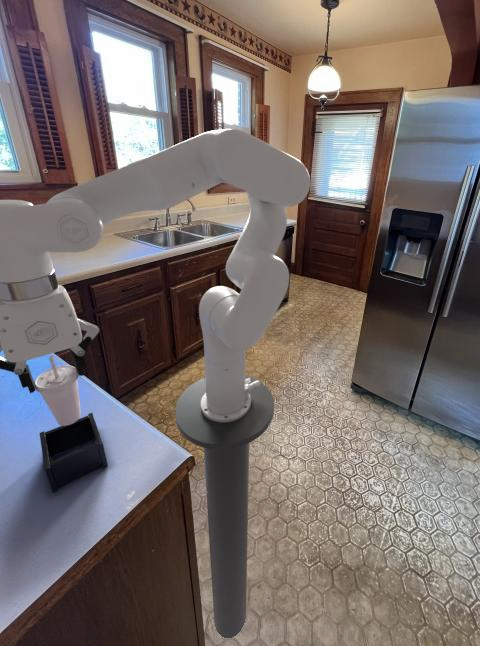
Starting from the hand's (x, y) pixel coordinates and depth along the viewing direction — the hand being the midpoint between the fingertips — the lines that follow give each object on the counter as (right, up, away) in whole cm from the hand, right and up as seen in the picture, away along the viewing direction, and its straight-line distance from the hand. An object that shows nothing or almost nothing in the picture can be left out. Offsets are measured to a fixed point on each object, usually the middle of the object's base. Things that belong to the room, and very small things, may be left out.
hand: (57, 378), depth 54 cm
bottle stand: (-1, -18, +7) cm, 20 cm away
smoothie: (0, -8, +4) cm, 9 cm away
